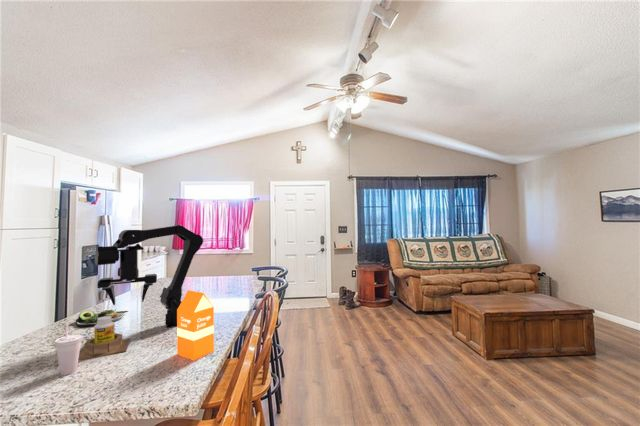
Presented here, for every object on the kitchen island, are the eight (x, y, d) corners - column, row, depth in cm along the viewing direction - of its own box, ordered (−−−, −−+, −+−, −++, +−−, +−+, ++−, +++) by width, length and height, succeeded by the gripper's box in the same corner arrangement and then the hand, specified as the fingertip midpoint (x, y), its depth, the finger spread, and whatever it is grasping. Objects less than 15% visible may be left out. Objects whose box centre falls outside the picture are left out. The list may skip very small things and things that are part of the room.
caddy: (130, 339, 110) (130, 329, 110) (125, 351, 99) (125, 341, 99) (83, 347, 104) (83, 336, 104) (72, 361, 93) (72, 349, 93)
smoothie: (65, 367, 89) (65, 320, 89) (88, 365, 90) (88, 319, 90) (47, 378, 83) (48, 327, 83) (72, 376, 83) (72, 326, 84)
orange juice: (193, 360, 92) (193, 295, 92) (176, 354, 96) (176, 292, 97) (214, 350, 98) (214, 290, 99) (197, 345, 103) (197, 287, 104)
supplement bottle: (93, 352, 97) (93, 321, 98) (95, 347, 102) (94, 317, 102) (114, 348, 101) (114, 317, 101) (114, 343, 105) (114, 314, 106)
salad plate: (124, 311, 147) (124, 301, 147) (132, 319, 134) (132, 309, 135) (74, 320, 134) (74, 310, 134) (77, 330, 121) (78, 319, 121)
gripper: (157, 258, 125) (157, 295, 125) (103, 261, 117) (103, 301, 116) (156, 261, 115) (156, 301, 115) (97, 265, 107) (97, 308, 106)
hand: (128, 303), depth 113 cm, fingers open, 9 cm apart
